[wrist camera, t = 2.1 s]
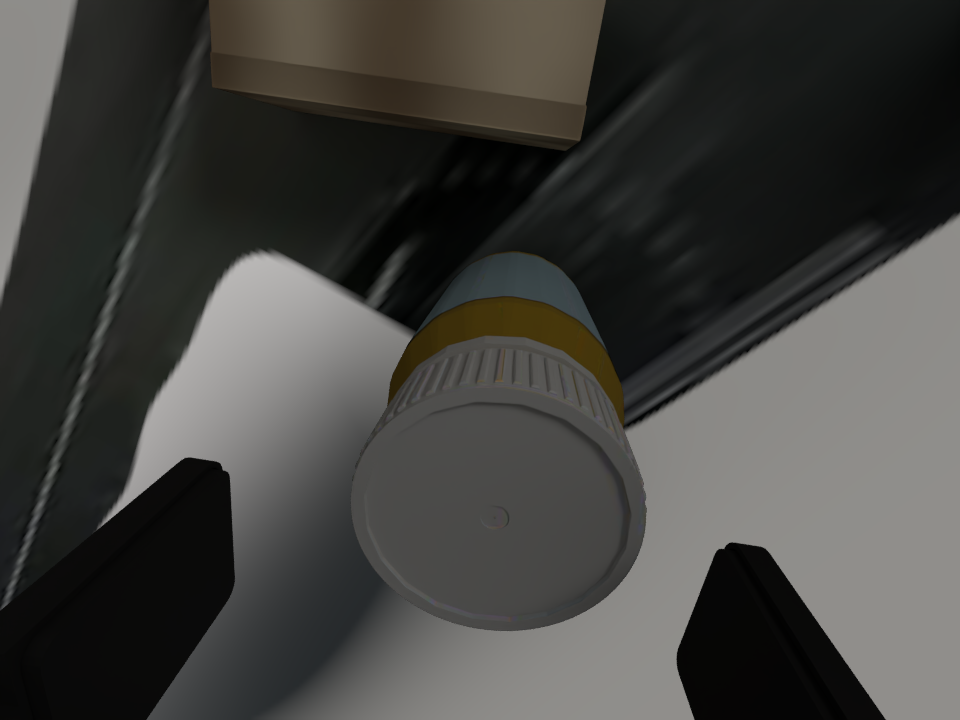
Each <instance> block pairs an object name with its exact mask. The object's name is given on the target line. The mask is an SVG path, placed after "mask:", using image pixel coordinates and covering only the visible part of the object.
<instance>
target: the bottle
mask: <svg viewBox="0 0 960 720" xmlns="http://www.w3.org/2000/svg"><path fill="white" fill-rule="evenodd" d="M623 426H624V398H623V391H622V387H621V384H620V382H619V377H618V375H617V373H616V370H615V368H614V365H613V363H612V361H611V358H610V356H609V354H608V352H607V349H606V347H605V345H604V343H603V341H602V339H601V337H600V335H599V333H598V331H597V329H596V327H595V324H594V322H593V320H592V318H591V316H590V314H589V312H588V310H587V308H586V306H585V304H584V302H583V300H582V297H581V295H580V293H579V291H578V289H577V288H576V286H575V285H574V284H573V282H572V281H571V280H570V279H569V278H568V276H567V275H566V274H565V273H564V272H563V271H562V270H561V269H560V268H559V267H558V266H556V265H555V264H553V263H551V262H549V261H548V260H546V259H544V258H542V257H540V256H537V255H534V254H529V253H524V252H518V251H509V252H502V253H494V254H491V255H488V256H486V257H483V258H481V259H479V260H477V261H475V262H473V263H471V264H470V265H469V266H467V267H466V268H465V269H464V270H463V271H462V272H461V273H460V274H459V275H458V276H457V277H456V278H455V279H454V280H453V281H452V282H451V284H450V285H449V286H448V288H447V289H446V291H445V292H444V293H443V295H442V296H441V298H440V299H439V301H438V302H437V303H436V305H435V306H434V308H433V309H432V311H431V312H430V313H429V315H428V316H427V318H426V319H425V321H424V322H423V323H422V325H421V326H420V328H419V329H418V331H417V332H416V333H415V335H414V336H413V338H412V339H411V341H410V342H409V344H408V345H407V347H406V349H405V351H404V353H403V355H402V357H401V359H400V361H399V363H398V365H397V367H396V369H395V371H394V373H393V375H392V379H391V382H390V389H389V398H388V405H387V408H386V410H385V412H384V413H383V415H382V417H381V419H380V420H379V422H378V423H377V425H376V427H375V428H374V430H373V432H372V433H371V435H370V437H369V438H368V440H367V442H366V444H365V446H364V447H363V449H362V451H361V453H360V458H359V460H358V461H357V463H356V472H355V474H354V475H353V480H352V481H353V484H352V490H351V514H352V521H353V525H354V530H355V533H356V536H357V539H358V541H359V544H360V546H361V548H362V550H363V552H364V554H365V556H366V557H367V559H368V561H369V562H370V564H371V565H372V567H373V568H374V569H375V571H376V572H377V573H378V574H379V576H380V577H381V578H382V579H383V580H384V581H385V582H386V583H387V584H388V585H389V586H390V587H391V588H392V589H393V590H394V591H395V592H397V593H398V594H399V595H400V596H402V597H403V598H404V599H406V600H407V601H409V602H410V603H412V604H414V605H415V606H417V607H418V608H420V609H422V610H424V611H426V612H428V613H430V614H432V615H434V616H436V617H439V618H441V619H444V620H447V621H449V622H452V623H456V624H460V625H463V626H467V627H472V628H478V629H485V630H496V631H497V630H498V631H516V630H517V631H518V630H527V629H535V628H540V627H545V626H549V625H553V624H556V623H560V622H562V621H565V620H568V619H570V618H573V617H575V616H577V615H579V614H581V613H583V612H585V611H587V610H588V609H590V608H592V607H593V606H595V605H596V604H598V603H599V602H601V601H602V600H603V599H604V598H606V597H607V596H608V595H609V594H610V593H611V592H612V591H613V590H614V589H615V588H616V587H617V586H618V585H619V584H620V583H621V582H622V580H623V579H624V578H625V577H626V575H627V574H628V572H629V571H630V569H631V568H632V566H633V564H634V562H635V560H636V558H637V556H638V553H639V551H640V548H641V545H642V542H643V537H644V533H645V525H646V512H647V508H646V505H645V500H646V494H645V491H644V488H643V485H644V483H643V479H642V477H641V474H640V472H639V468H638V465H637V463H636V460H635V457H634V455H633V452H632V450H631V447H630V445H629V442H628V440H627V437H626V435H625V432H624V430H623Z"/></svg>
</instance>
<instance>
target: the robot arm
mask: <svg viewBox="0 0 960 720" xmlns="http://www.w3.org/2000/svg"><path fill="white" fill-rule="evenodd" d="M234 582H235V573H234V553H233V532H232V512H231V492H230V476H229V474H228V472H226V471H223V470H222V466H221V464H220V463H218V462H215V461H209V460H202V459H196V458H184V459H183V460H181V461H180V462H179V463H177V464H176V465H175V466H174V467H173V468H171V469H170V470H169V471H168V472H167V473H165V474H164V475H163V476H162V477H161V478H159V479H158V480H157V481H156V482H155V483H153V484H152V485H151V486H150V487H149V488H147V489H146V490H145V491H144V492H143V493H141V494H140V495H139V496H138V497H137V498H135V499H134V500H133V501H132V502H131V503H129V504H128V505H127V506H126V507H125V508H123V509H122V510H121V511H120V512H119V513H118V514H116V515H115V516H114V517H112V518H111V519H110V520H109V521H108V522H106V523H105V524H104V525H103V526H102V527H100V528H99V529H98V530H97V531H96V532H94V533H93V534H92V535H91V536H90V537H88V538H87V539H86V540H85V541H84V542H82V543H81V544H80V545H79V546H78V547H76V548H75V549H74V550H73V551H72V552H70V553H69V554H68V555H67V556H66V557H64V558H63V559H62V560H61V561H60V562H58V563H57V564H56V565H55V566H54V567H52V568H51V569H50V570H49V571H48V572H46V573H45V574H44V575H43V576H42V577H40V578H39V579H38V580H37V581H36V582H34V583H33V584H32V585H31V586H30V587H28V588H27V589H26V590H25V591H24V592H22V593H21V594H20V595H19V596H18V597H16V598H15V599H14V600H13V601H11V602H10V603H9V604H8V605H7V606H5V607H4V608H3V609H2V610H1V611H0V720H146V719H147V718H148V716H149V715H150V713H151V712H152V711H153V709H154V708H155V706H156V704H157V703H158V702H159V700H160V699H161V697H162V696H163V694H164V693H165V691H166V690H167V688H168V687H169V686H170V684H171V683H172V681H173V680H174V678H175V677H176V675H177V674H178V673H179V671H180V669H181V668H182V667H183V665H184V664H185V662H186V661H187V659H188V658H189V656H190V655H191V654H192V652H193V651H194V649H195V648H196V646H197V645H198V643H199V642H200V640H201V639H202V637H203V636H204V635H205V633H206V632H207V630H208V628H209V627H210V626H211V624H212V623H213V621H214V620H215V619H216V617H217V616H218V614H219V613H220V611H221V610H222V608H223V607H224V605H225V604H226V602H227V601H228V599H229V597H230V595H231V593H232V590H233V587H234ZM677 668H678V672H679V676H680V679H681V681H682V684H683V687H684V690H685V693H686V696H687V699H688V702H689V705H690V708H691V711H692V714H693V716H694V719H695V720H886V719H885V718H884V717H883V715H882V714H881V712H880V711H879V710H878V708H877V707H876V705H875V704H874V702H873V701H872V699H871V698H870V697H869V695H868V694H867V692H866V691H865V689H864V688H863V687H862V685H861V684H860V682H859V681H858V679H857V678H856V677H855V675H854V674H853V672H852V671H851V669H850V668H849V666H848V665H847V664H846V662H845V661H844V660H843V658H842V656H841V655H840V654H839V652H838V651H837V649H836V648H835V646H834V645H833V643H832V642H831V641H830V639H829V638H828V636H827V635H826V633H825V632H824V631H823V629H822V628H821V626H820V625H819V623H818V622H817V621H816V619H815V618H814V616H813V615H812V613H811V612H810V611H809V609H808V608H807V606H806V605H805V603H804V602H803V601H802V599H801V598H800V596H799V595H798V593H797V592H796V591H795V589H794V588H793V586H792V585H791V583H790V582H789V581H788V579H787V578H786V576H785V575H784V573H783V572H782V571H781V569H780V568H779V566H778V565H777V563H776V562H775V561H774V559H773V558H772V556H771V555H770V553H769V552H768V551H767V550H766V549H764V548H763V547H759V546H752V545H746V544H739V543H729V544H728V545H726V547H725V549H719V550H717V552H716V553H715V556H714V558H713V561H712V563H711V566H710V568H709V571H708V573H707V576H706V579H705V581H704V584H703V586H702V589H701V591H700V595H699V597H698V599H697V602H696V604H695V607H694V610H693V612H692V615H691V617H690V620H689V622H688V625H687V627H686V630H685V633H684V636H683V638H682V640H681V643H680V645H679V648H678V652H677Z"/></svg>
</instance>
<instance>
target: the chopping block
mask: <svg viewBox="0 0 960 720" xmlns="http://www.w3.org/2000/svg"><path fill="white" fill-rule="evenodd" d="M605 1H606V0H209V11H210V29H211V47H212V52H210V56H211V74H212V87H214V88H217V89H220V90H224V91H227V92H231V93H234V94H237V95H241V96H244V97H248V98H251V99H255V100H258V101H261V102H265V103H268V104H272V105H275V106H278V107H282V108H285V109H289V110H292V111H297V112H304V113H311V114H318V115H324V116H331V117H338V118H345V119H352V120H359V121H365V122H372V123H379V124H386V125H393V126H400V127H406V128H413V129H420V130H427V131H434V132H441V133H447V134H454V135H461V136H468V137H475V138H482V139H488V140H495V141H502V142H509V143H516V144H523V145H529V146H536V147H543V148H550V149H557V150H564V151H565V150H567V149H568V148H570V147H571V146H573V145H574V144H576V143H577V142H579V141H580V138H581V133H582V128H583V123H584V118H585V113H586V108H587V106H585V104H586V99H587V94H588V89H589V84H590V78H591V73H592V68H593V63H594V58H595V53H596V48H597V42H598V37H599V32H600V27H601V22H602V17H603V11H604V6H605Z"/></svg>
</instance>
